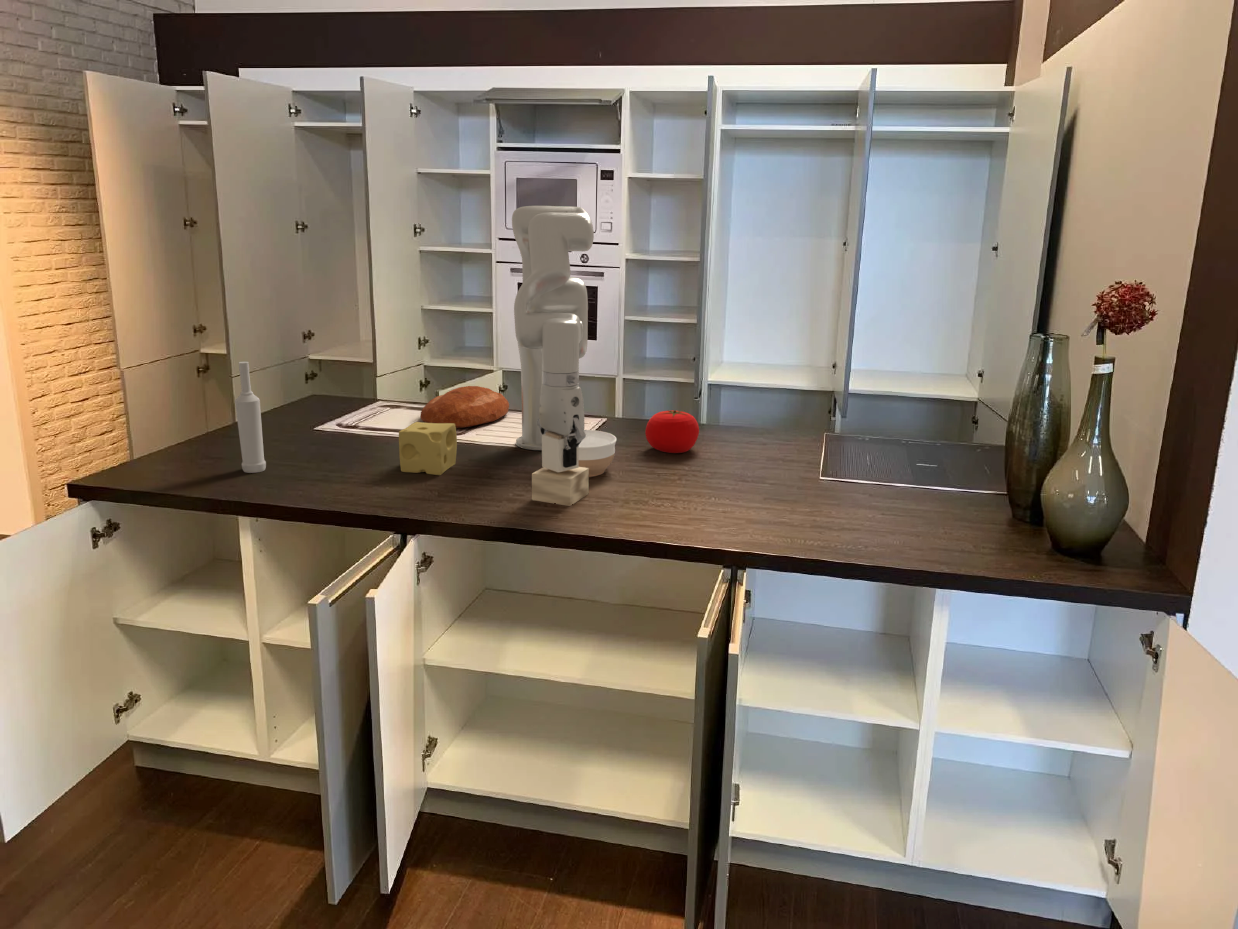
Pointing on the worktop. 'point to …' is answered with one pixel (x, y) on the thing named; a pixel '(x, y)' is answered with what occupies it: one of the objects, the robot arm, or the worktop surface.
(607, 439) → the bowl
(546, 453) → the white cube
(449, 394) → the bread
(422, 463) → the cheese
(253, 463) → the bottle
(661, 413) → the tomato
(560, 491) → the block
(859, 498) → the worktop surface
